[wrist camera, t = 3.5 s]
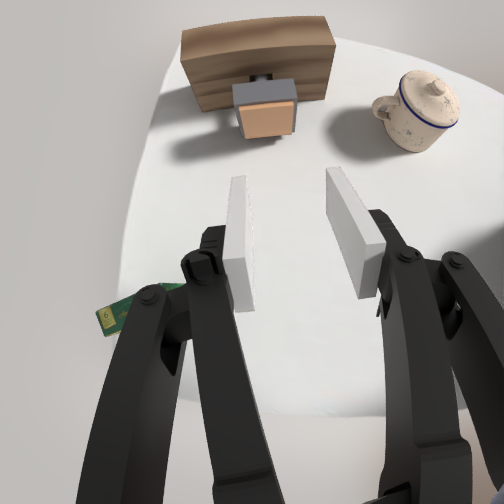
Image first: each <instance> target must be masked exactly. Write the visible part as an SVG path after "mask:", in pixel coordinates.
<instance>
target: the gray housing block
mask: <svg viewBox="0 0 504 504" xmlns="http://www.w3.org/2000/svg"><path fill="white" fill-rule="evenodd" d="M232 89H233V100H234V107H235V111H236V115H237V119H238V123H239V128H240V132H241V136H242V137H245V138H246V139H251V138H259V137H269V136H279V135H290V134H292V132H295V122H296V111H297V100H298V98H297V93H296V88H295V84H294V79H279V80H268V79H267V74H260V75H255V82H249V83H241V84H234V85H232Z"/></svg>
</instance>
